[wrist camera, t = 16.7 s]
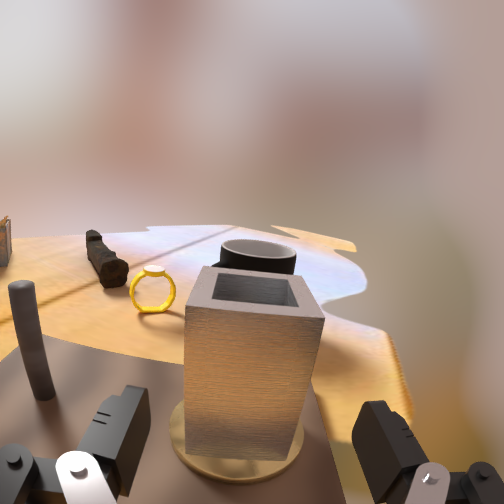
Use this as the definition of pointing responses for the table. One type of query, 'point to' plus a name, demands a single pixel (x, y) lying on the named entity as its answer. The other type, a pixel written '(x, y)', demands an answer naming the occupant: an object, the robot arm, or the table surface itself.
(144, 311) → the watch
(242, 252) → the mug
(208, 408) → the open-top grey box
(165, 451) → the walnut stand board
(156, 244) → the table surface
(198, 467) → the disc
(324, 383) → the table surface
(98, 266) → the hand tool
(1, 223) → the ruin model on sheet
